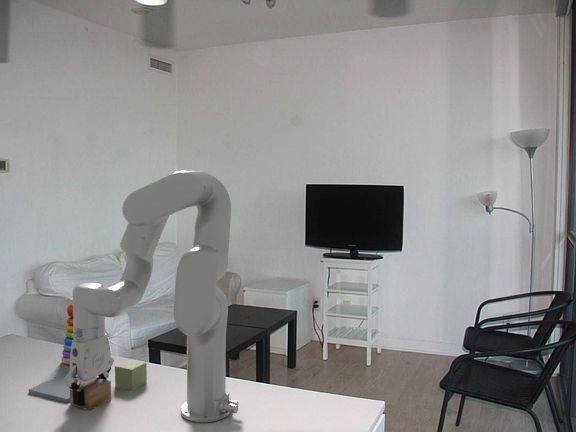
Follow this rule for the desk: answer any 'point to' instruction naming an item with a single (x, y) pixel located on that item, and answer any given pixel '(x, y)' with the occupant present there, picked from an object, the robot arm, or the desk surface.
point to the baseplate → (53, 389)
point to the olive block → (130, 374)
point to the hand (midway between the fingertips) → (90, 398)
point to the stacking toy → (68, 336)
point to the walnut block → (94, 393)
